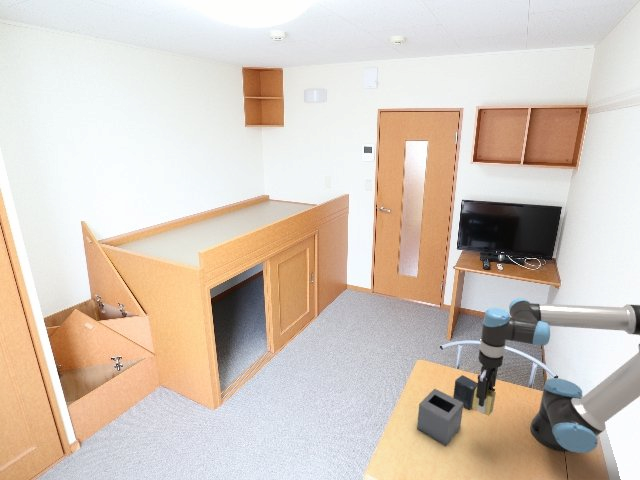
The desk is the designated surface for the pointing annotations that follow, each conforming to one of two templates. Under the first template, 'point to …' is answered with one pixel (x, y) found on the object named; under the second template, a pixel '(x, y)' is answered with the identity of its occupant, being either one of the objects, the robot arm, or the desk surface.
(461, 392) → the box
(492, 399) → the yellow rectangular block
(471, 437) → the desk surface
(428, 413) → the gray slotted cube
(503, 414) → the desk surface
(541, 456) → the desk surface
